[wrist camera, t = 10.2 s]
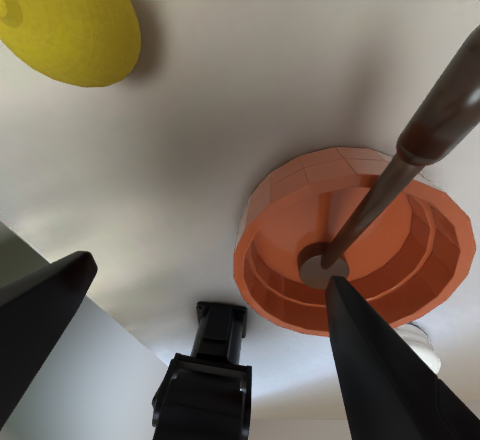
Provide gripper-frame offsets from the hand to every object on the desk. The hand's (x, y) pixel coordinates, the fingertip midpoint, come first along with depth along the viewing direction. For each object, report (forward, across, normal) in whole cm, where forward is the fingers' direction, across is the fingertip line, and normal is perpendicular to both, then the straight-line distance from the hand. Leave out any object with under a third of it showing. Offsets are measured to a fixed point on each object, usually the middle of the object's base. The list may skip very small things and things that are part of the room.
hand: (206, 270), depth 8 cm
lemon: (+12, +8, -8) cm, 17 cm away
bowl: (+12, -8, +6) cm, 16 cm away
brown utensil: (+11, -8, +2) cm, 14 cm away
